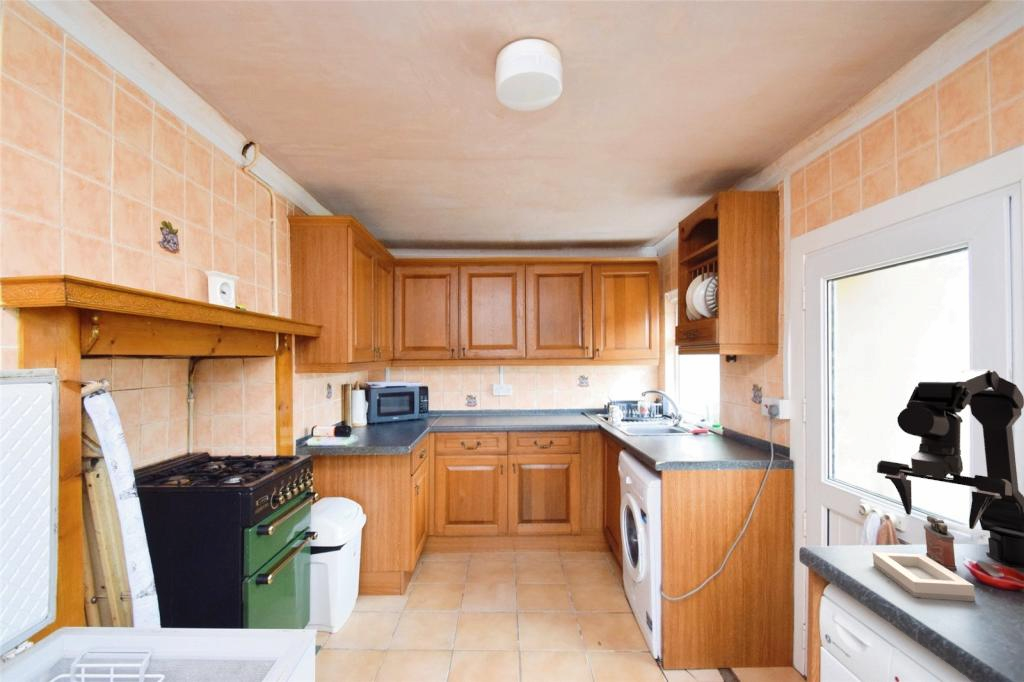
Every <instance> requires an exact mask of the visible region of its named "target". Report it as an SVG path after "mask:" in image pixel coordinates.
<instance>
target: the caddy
mask: <svg viewBox="0 0 1024 682" xmlns="http://www.w3.org/2000/svg"><path fill="white" fill-rule="evenodd" d="M872 560H873V567H875V568H876V569H877V570H879V571H880V570H881V571H882V572H881V571H880V572H881V573H883V574H884V573H885V574H886V575H885V574H884V575H885V576H886V577H888V576H889V577H890V578H889V577H888V578H889V579H890V580H891V581H893V580H894V581H895V582H894V581H893V582H894V583H896V584H897V583H898V584H899V585H898V584H897V585H898V586H900V587H901V588H902V587H903V588H902V589H903V590H905V591H906V592H907V591H908V592H907V593H909V594H910V595H911V596H913V597H914V598H917V597H921V599H932V600H933V599H934V600H953V601H967V602H975V601H976V595H975V585H974V584H972V583H971V582H969V581H967V580H966V579H965V578H962V577H961V576H959V575H957V573H955V572H951V571H950V570H948V569H946V568H945V567H943V566H941V565H940V564H938V563H936V562H935V561H933V560H932V559H930V558H928V557H927V556H926V554H919V553H917V554H916V553H895V552H894V553H893V552H880V551H879V552H876V551H875V552H874V551H873V552H872Z"/></svg>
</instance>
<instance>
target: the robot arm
mask: <svg viewBox="0 0 1024 682" xmlns="http://www.w3.org/2000/svg"><path fill="white" fill-rule="evenodd" d="M912 391H913V392H912V394H911V395H910V397H909V400H908V401H907V404H906V407H905V408H904V409H902V410H901V411H900V413H899V415H898V416H897V425H898V426H899V428H900V429H901V430H902V431H903V432H904V433H906V434H908V435H911V436H914V437H918V438H920V439H921V440H920V443H919V446H918V447H919V448H918V451H917V452H916V453H915V454H914V455H912V456H911V457H910V461H911V467H910V464H906V463H901V462H894V461H888V460H880V461H878V462H877V464H876V465H877V466H876V473H878V474H883V475H884V478H885V479H888V480H890V481H891V483H892V484H893V485H894V487H895V488H896V491H897V493H898V495H899V498H900V500H901V503H902V506H903V509H904V511H905V513H906V515H908V516H909V515H911V514H912V508H913V507H912V506H913V505H912V502H913V501H912V480H911V479H907V478H908V477H913V478H919V479H925V480H931V481H936V482H943V483H949V484H956V485H961V486H966V487H972V488H975V490H976V491H973V490H972V491H971V505H970V512H969V518H968V525H969V526H968V528H969V529H971V530H974V528H975V527H976V525H977V524H978V522H979V523H980V524H979V525H980V527H981V530H982V531H987V532H989V537H988V551H989V552H985V555H986V556H988V557H990V558H992V559H994V560H996V561H997V562H1000V563H1002V564H1003V565H1005V566H1008V567H1010V568H1011V567H1015V568H1024V495H1023V494H1022V493H1021V491H1020V490H1019V484H1018V482H1019V481H1018V472H1017V460H1016V453H1015V451H1016V450H1015V442H1014V432H1013V426H1014V424H1015V423H1017V421H1018V420H1019V418H1021V416H1022V409H1023V408H1024V395H1023V393H1022V392H1021V391H1020V389H1019V387H1018V386H1017V384H1015V383H1013V382H1011V381H1009V380H1006V379H1005V378H1003V377H1000V376H999V374H998V373H997V372H996V370H992V369H967V370H963V371H962V372H961V373H959V374H957V375H954V376H951V377H949V378H946V379H943V380H942V379H941V380H940V379H939V380H937V379H936V380H930V379H929V380H928V379H926V380H925V379H924V380H923V379H921V380H920V381H919V382H918V383H917V385H916V386H915V387H914V389H913V390H912ZM967 406H969V408H970V413H971V415H972V417H974V418H975V419H976V421H978V423H979V424H980V425H981V426H982V432H983V434H982V435H983V444H984V445H983V446H984V456H985V465H986V475H987V476H986V475H985V476H984V475H980V474H979V475H978V474H975V475H974V477H972V476H971V477H970V476H965V475H964V476H963V475H961V474H962V472H963V470H964V466H963V461H962V460H963V459H962V457H961V454H962V453H961V451H962V450H961V424H962V423H963V418H962V417H961V416H960V415H958V413H961V412H962V411H963V410H964V409H966V407H967ZM948 475H949V476H951V477H948Z"/></svg>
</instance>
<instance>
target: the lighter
mask: <svg viewBox="0 0 1024 682" xmlns="http://www.w3.org/2000/svg"><path fill="white" fill-rule="evenodd" d="M926 521H927V522H928V523H930V524H928V523H925V524H923V529H924V532H925V533H924V534H925V543H926V545H925V546H926V553H925V556H927V557H928V558H930V559H932V560H933V561H935V562H936V563H938V564H940V565H941V566H943V567H945V568H946V569H948V570H950V571H951V572H953V573H955V572H958V567H957V566H956V560H955V546H954V541H955V535H953V533H951V532H950V531H948V524H947V523H945V520H943V519H938V518H937V517H935V516H933V515H929V514H928V515H927V516H926Z"/></svg>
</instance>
